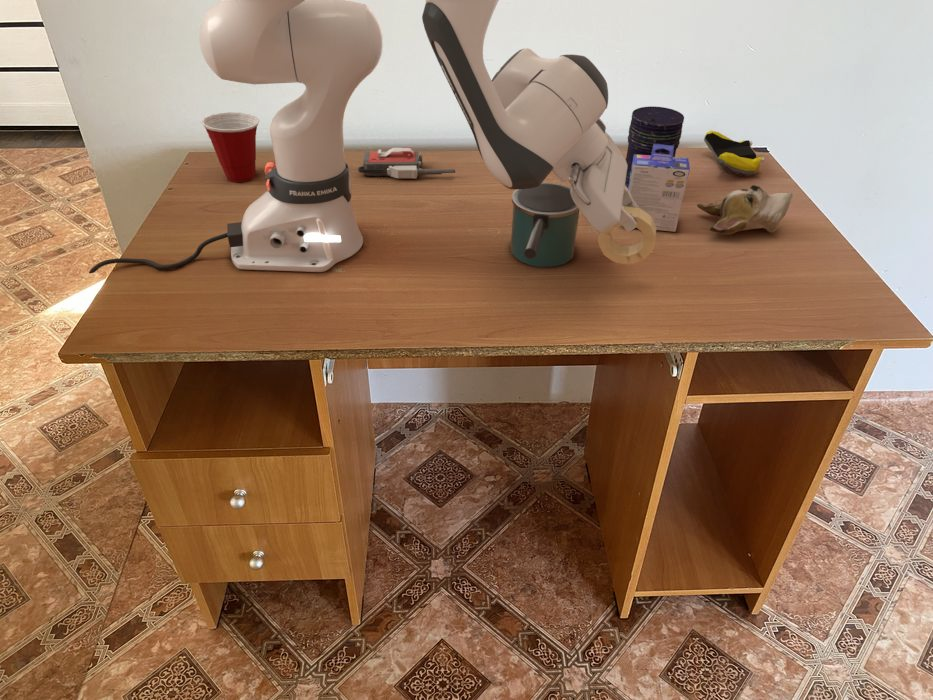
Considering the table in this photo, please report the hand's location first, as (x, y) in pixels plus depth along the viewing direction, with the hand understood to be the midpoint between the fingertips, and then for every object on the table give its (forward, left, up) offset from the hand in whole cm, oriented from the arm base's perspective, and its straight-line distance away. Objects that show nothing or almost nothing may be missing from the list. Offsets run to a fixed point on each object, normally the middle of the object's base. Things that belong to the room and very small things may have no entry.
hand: (634, 220), depth 104 cm
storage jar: (+15, +33, -12) cm, 38 cm away
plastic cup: (-66, +49, -12) cm, 83 cm away
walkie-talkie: (-32, +47, -12) cm, 58 cm away
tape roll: (-1, 0, -7) cm, 7 cm away
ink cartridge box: (+11, +19, -12) cm, 25 cm away
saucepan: (-13, +7, -11) cm, 18 cm away
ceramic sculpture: (+27, +15, -12) cm, 33 cm away
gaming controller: (+37, +41, -12) cm, 57 cm away
